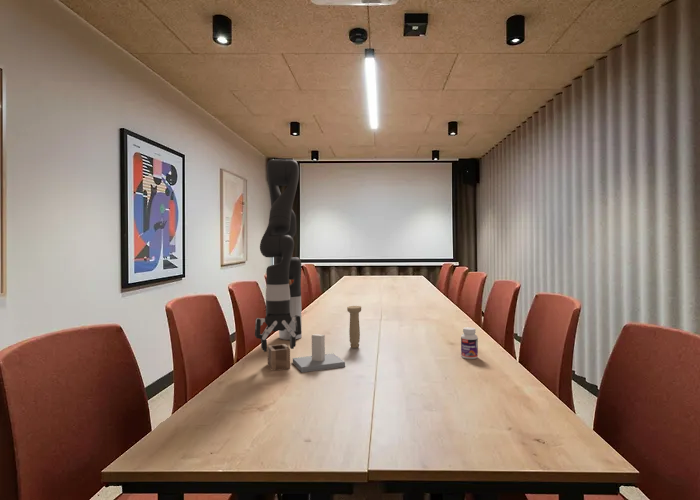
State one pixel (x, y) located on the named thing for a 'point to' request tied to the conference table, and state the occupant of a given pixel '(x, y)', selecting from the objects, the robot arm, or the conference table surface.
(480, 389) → the conference table surface
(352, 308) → the handle
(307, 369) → the base
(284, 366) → the open cubby box
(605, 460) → the conference table surface
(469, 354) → the pill bottle
